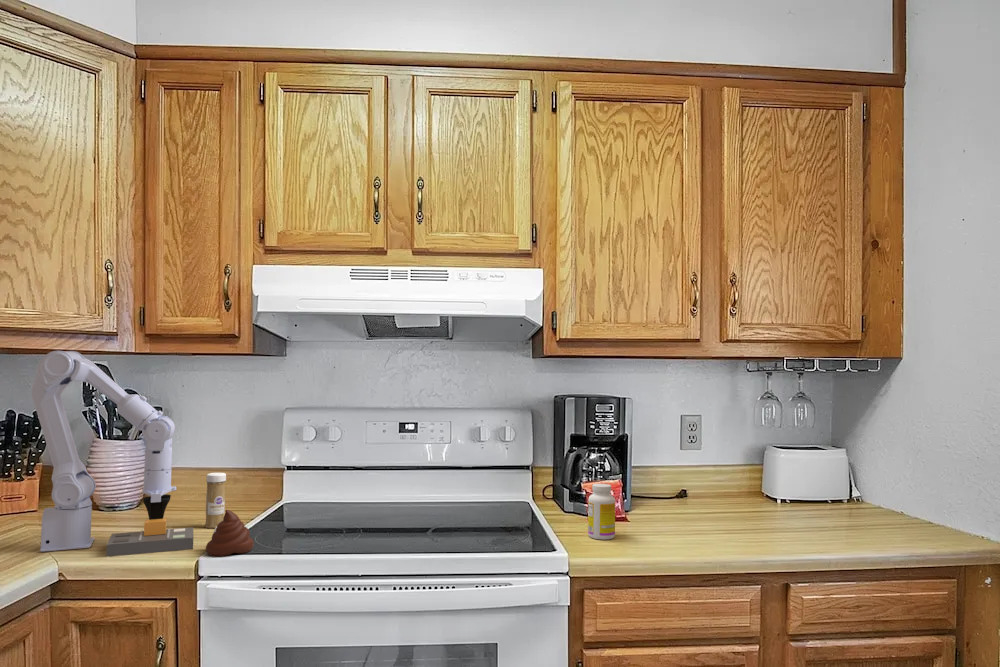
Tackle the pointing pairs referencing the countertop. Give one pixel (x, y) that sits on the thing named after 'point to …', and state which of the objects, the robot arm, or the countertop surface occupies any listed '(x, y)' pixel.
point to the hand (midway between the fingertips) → (155, 527)
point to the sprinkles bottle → (215, 499)
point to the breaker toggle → (155, 527)
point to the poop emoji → (230, 537)
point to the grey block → (149, 542)
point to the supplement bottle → (601, 513)
